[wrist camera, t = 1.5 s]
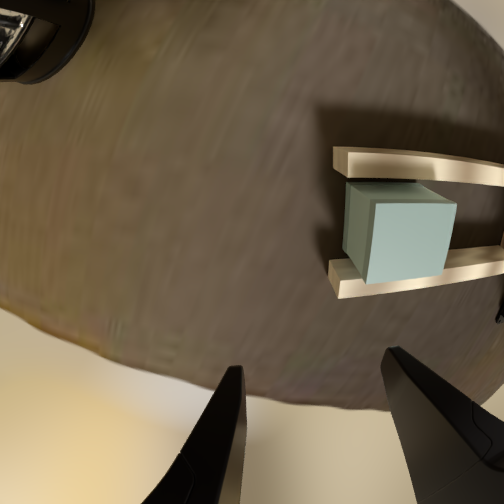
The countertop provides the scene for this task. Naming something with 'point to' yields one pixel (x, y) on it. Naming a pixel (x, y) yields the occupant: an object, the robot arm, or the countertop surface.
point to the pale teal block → (396, 230)
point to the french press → (61, 46)
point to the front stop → (502, 242)
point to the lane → (428, 168)
